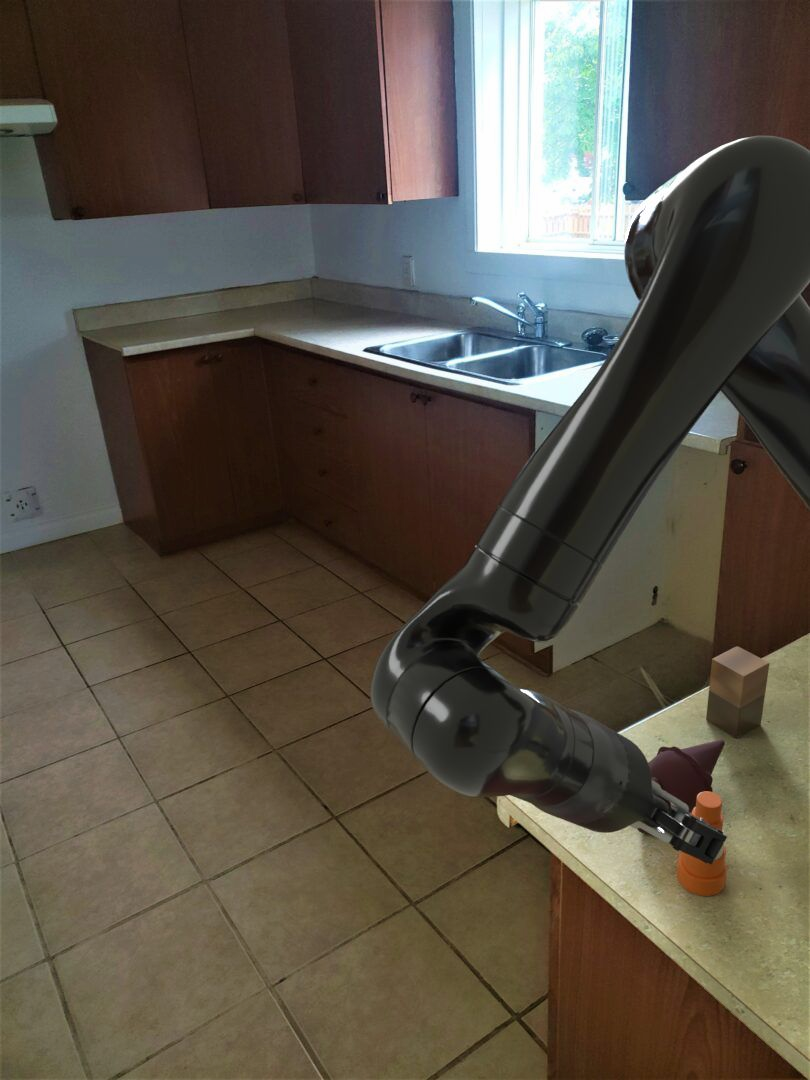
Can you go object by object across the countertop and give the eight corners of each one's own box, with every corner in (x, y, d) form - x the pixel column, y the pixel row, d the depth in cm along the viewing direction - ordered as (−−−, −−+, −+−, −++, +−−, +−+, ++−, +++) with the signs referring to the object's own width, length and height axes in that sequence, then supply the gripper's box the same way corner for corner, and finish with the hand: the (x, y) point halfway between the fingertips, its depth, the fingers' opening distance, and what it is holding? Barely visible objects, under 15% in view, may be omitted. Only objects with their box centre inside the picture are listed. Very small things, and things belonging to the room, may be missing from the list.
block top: (765, 694, 97) (769, 662, 95) (740, 708, 95) (744, 676, 93) (733, 676, 100) (737, 645, 98) (708, 689, 98) (711, 658, 96)
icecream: (689, 705, 93) (599, 774, 86) (747, 723, 87) (655, 798, 80) (701, 757, 95) (614, 828, 88) (758, 778, 89) (669, 856, 82)
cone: (734, 881, 79) (745, 803, 74) (703, 903, 77) (712, 824, 72) (698, 853, 82) (706, 776, 78) (667, 873, 80) (673, 795, 76)
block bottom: (761, 724, 99) (765, 694, 97) (736, 739, 97) (740, 708, 95) (730, 706, 102) (733, 676, 100) (705, 719, 100) (708, 689, 98)
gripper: (686, 775, 55) (764, 819, 66) (535, 683, 65) (624, 734, 76) (631, 873, 54) (719, 902, 65) (488, 764, 65) (584, 804, 76)
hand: (667, 811), depth 71 cm, fingers open, 8 cm apart
